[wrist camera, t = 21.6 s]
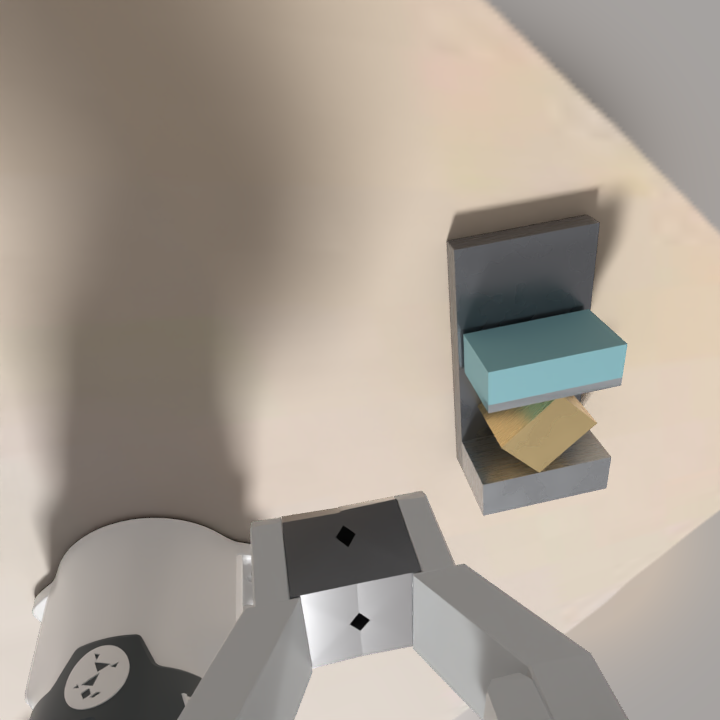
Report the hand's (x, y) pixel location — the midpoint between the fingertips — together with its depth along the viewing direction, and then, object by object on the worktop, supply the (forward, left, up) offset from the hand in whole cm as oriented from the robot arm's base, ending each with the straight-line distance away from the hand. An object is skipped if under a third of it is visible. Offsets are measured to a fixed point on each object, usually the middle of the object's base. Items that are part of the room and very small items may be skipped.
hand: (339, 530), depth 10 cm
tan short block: (-18, -14, -24) cm, 32 cm away
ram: (-13, -14, -23) cm, 30 cm away
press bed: (-15, -14, -25) cm, 32 cm away
